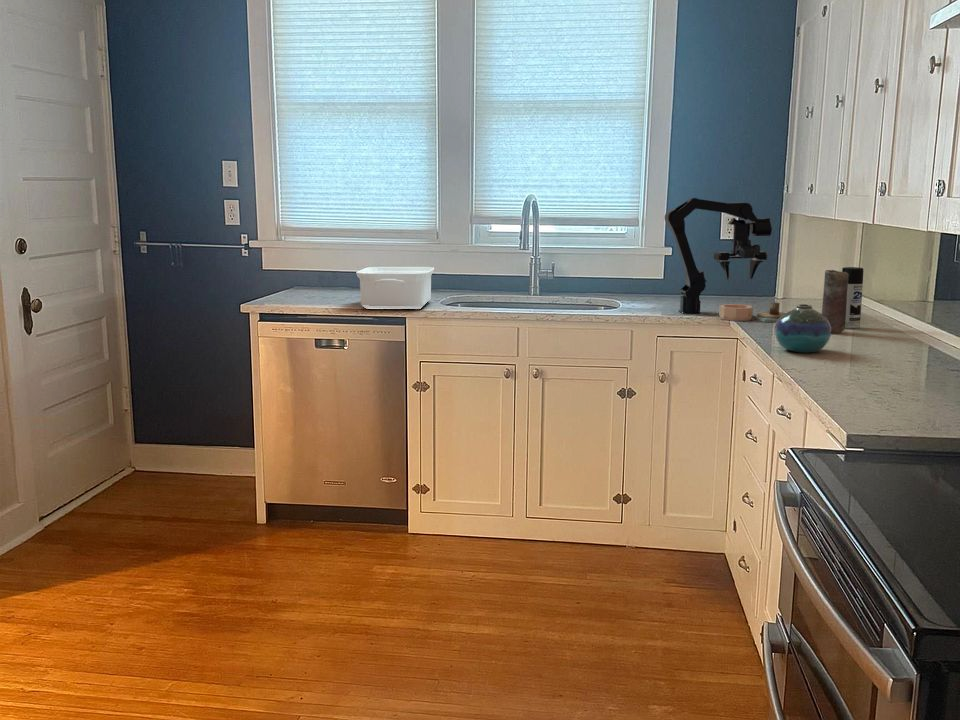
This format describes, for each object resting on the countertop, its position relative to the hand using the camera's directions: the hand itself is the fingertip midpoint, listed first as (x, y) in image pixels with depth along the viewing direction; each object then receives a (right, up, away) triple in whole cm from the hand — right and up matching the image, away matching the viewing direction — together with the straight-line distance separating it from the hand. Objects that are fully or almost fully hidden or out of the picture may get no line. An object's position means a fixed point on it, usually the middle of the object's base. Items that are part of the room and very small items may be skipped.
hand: (739, 279), depth 330 cm
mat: (+8, -16, -14) cm, 23 cm away
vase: (-4, -28, -74) cm, 79 cm away
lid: (+8, -15, -15) cm, 22 cm away
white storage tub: (-130, -9, +26) cm, 133 cm away
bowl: (-5, -15, -13) cm, 21 cm away
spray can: (+27, -20, -34) cm, 47 cm away
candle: (+18, -21, -43) cm, 51 cm away
